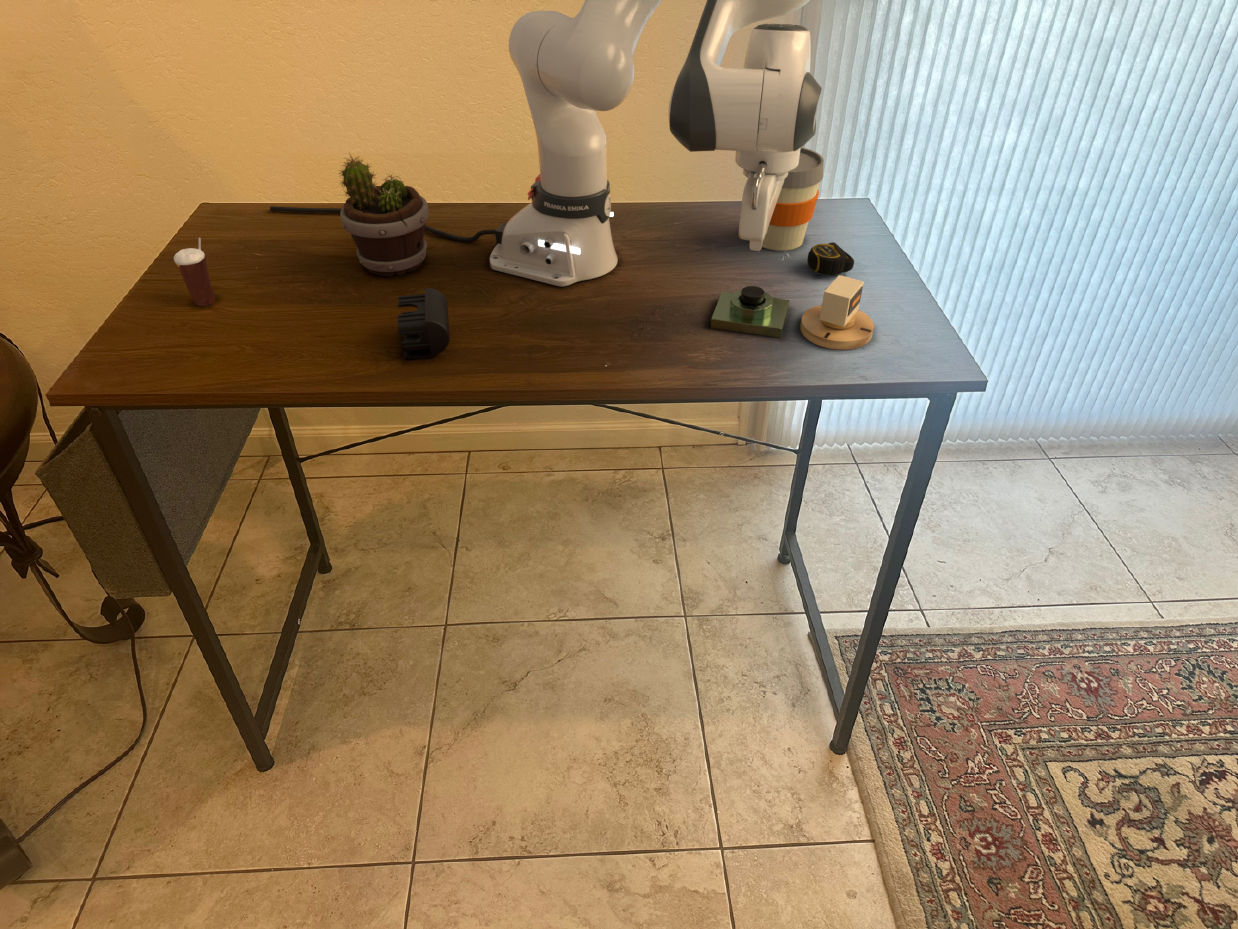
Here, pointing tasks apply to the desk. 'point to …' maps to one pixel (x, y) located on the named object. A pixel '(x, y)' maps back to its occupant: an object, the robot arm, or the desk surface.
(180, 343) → the desk surface
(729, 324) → the base
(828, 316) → the tan cube with screen
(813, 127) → the robot arm
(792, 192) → the reusable coffee cup
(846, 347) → the stand
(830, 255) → the tape measure
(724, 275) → the desk surface
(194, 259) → the milkshake
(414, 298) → the end cap
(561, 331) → the desk surface
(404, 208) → the flowerpot
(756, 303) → the button
